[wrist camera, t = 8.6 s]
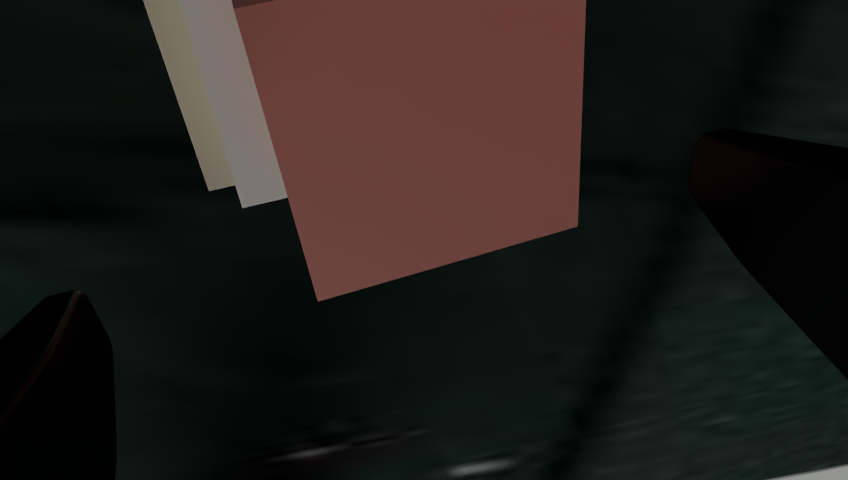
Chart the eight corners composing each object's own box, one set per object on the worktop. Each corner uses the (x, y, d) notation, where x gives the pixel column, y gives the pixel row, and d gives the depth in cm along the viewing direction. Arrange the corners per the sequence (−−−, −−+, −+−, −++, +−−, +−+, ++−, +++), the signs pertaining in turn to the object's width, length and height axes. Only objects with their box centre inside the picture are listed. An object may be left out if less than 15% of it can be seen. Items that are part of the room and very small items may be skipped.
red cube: (464, -100, 13) (588, -62, 9) (479, 123, 16) (577, 226, 12) (218, -56, 12) (233, 8, 8) (283, 172, 15) (318, 301, 11)
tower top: (456, -176, 15) (508, -175, 12) (470, 103, 19) (511, 144, 16) (147, -138, 13) (138, -128, 11) (235, 155, 17) (242, 208, 15)
